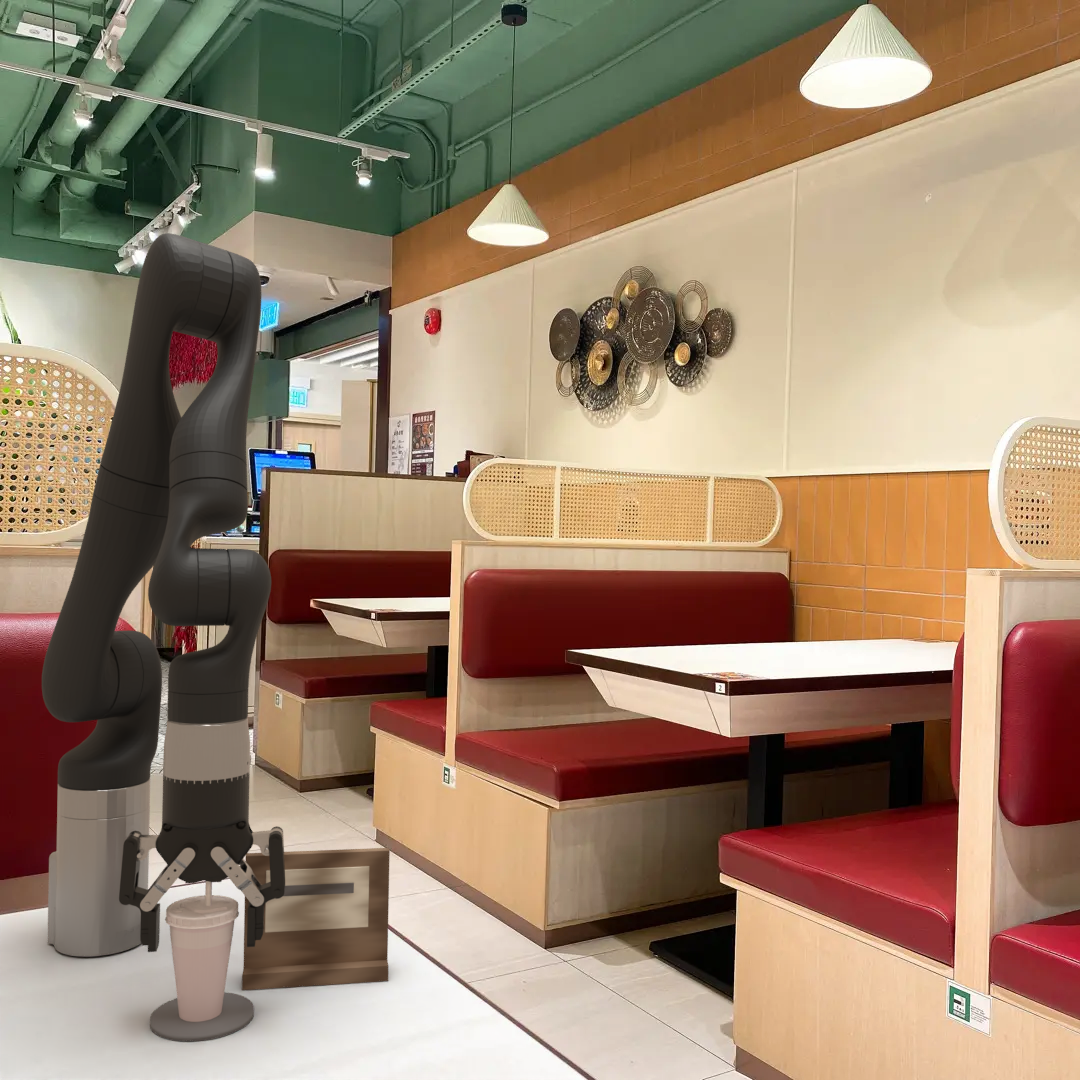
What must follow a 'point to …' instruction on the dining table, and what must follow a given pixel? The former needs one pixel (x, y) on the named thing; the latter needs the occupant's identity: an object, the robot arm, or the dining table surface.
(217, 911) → the smoothie
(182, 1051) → the dining table surface
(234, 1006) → the coaster
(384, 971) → the placard
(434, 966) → the dining table surface
